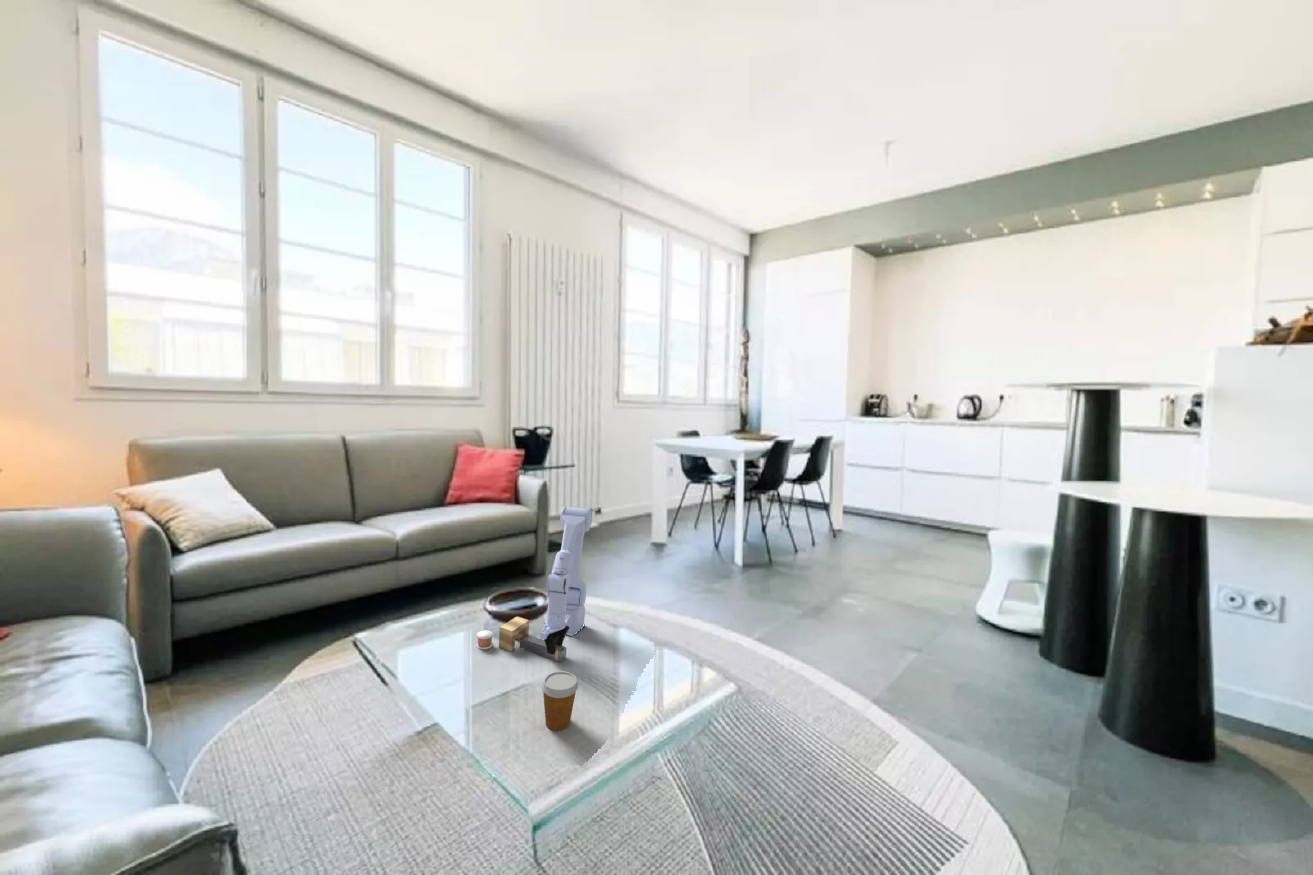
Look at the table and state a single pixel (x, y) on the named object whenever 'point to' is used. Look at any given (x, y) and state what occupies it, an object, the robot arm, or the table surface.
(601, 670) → the table surface
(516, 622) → the wooden u-shaped cradle
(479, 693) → the table surface
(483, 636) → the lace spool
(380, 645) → the table surface
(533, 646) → the dark grey bar
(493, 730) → the table surface
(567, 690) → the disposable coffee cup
